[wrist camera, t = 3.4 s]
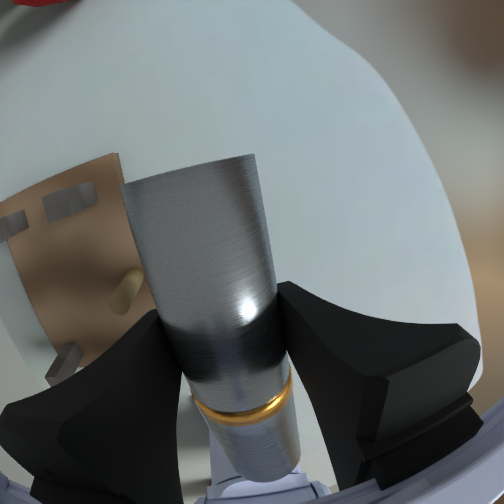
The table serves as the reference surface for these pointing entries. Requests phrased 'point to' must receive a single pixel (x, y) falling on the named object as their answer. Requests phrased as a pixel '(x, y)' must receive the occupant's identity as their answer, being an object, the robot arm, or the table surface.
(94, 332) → the collar stand
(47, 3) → the strawberry
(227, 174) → the silver metal cylinder
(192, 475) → the table surface
